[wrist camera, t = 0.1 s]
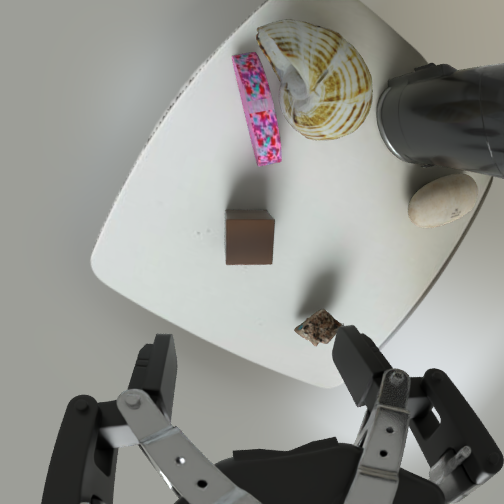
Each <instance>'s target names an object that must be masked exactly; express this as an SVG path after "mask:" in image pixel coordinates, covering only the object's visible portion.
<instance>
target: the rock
mask: <svg viewBox="0 0 504 504" xmlns="http://www.w3.org/2000/svg"><path fill="white" fill-rule="evenodd" d="M343 324H344V323H343ZM342 326H344V325H341V323H339V322H338V321H337V320H335V319H334V318H333V317H332V315H331V314H329V313H328V312H327V311H326V310H325V309H322V310H319V311H318V312H316V313H315V314H313V315H312V316H311V317H309V318H307V319H306V321H304V322H303V323H302V324H301V325H299V326H297V327H296V328H295V330H294V331H295V332H296V333H298V334H299V335H300V336H301V337H303V338H305V339H306V340H309V341H310V342H312V344H313V345H314V346H317V345H318V343H320V342H321V343H324V344H327V343H328V342H330V340H331V339H332V338H333V337H334V336H335V335H336V333H337V330H338V328H339V327H342Z"/></svg>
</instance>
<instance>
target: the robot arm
mask: <svg viewBox="0 0 504 504" xmlns="http://www.w3.org/2000/svg"><path fill="white" fill-rule="evenodd" d="M377 122H378V127H379V131H380V134H381V136H382V139H383V141H384V143H385V144H386V146H387V147H388V149H389V150H390V151H391V152H392V153H393V154H394V155H395V156H396V157H397V158H399V159H401V160H402V161H405V162H408V163H415V164H428V165H425V166H421V167H425V168H428V167H431V166H434V165H435V166H442V167H448V168H454V169H460V170H465V171H470V172H475V173H480V174H485V175H489V176H494V177H498V178H502V179H504V63H503V64H495V65H488V66H481V67H474V68H468V69H463V70H457V69H455V68H453V67H451V66H450V65H448V64H440V65H437V66H436V65H435V64H434V63H429V64H428V65H424V66H421V67H418V68H415V72H412V73H409V74H405V75H402V76H399V77H396V78H393V79H390V80H388V88H387V89H386V90H385V91H384V92H383V94H382V95H381V97H380V99H379V102H378V106H377ZM332 357H333V361H334V363H335V365H336V367H337V369H338V371H339V373H340V375H341V377H342V379H343V380H344V382H345V384H346V386H347V388H348V390H349V392H350V394H351V396H352V397H353V400H354V402H355V404H356V406H357V407H361V406H364V405H366V406H367V410H366V412H365V415H364V418H363V421H362V424H361V427H360V430H359V433H358V435H357V438H356V440H355V443H354V445H352V444H347V443H338V441H337V439H336V437H332V438H328V439H323V440H318V441H313V442H310V443H308V444H305V445H303V446H301V447H298V448H295V449H293V450H290V451H276V450H265V449H252V450H237V451H233V457H231V458H228V459H225V460H222V461H220V462H218V463H216V464H212V463H211V462H210V461H209V460H208V459H207V458H206V457H205V456H204V455H203V454H202V452H200V450H199V449H198V448H197V447H196V446H195V445H194V444H193V443H192V442H191V441H190V440H189V439H188V438H187V437H186V435H185V434H184V433H183V432H182V431H181V430H180V429H179V428H178V427H176V426H175V427H173V426H172V425H171V415H172V407H173V398H174V390H175V382H176V375H177V357H176V351H175V346H174V339H173V335H172V334H156V337H155V340H154V344H146V345H145V346H144V347H143V348H142V349H141V350H140V351H139V354H138V358H137V361H136V364H135V367H134V370H133V373H132V377H131V380H130V383H129V387H128V390H126V391H124V392H122V393H121V394H120V395H119V396H118V398H117V400H114V401H109V402H100V403H97V401H96V400H95V399H94V398H93V397H91V396H89V395H79V396H76V397H74V398H73V399H72V400H71V401H70V402H69V404H68V406H67V409H66V412H65V415H64V418H63V421H62V424H61V427H60V430H59V433H58V436H57V440H56V443H55V446H54V450H53V453H52V457H51V461H50V465H49V469H48V473H47V477H46V482H45V487H44V492H43V497H42V502H41V504H113V492H114V481H115V472H116V463H117V455H118V448H119V447H125V446H132V445H139V447H140V449H141V450H142V452H143V453H144V454H145V456H146V457H147V459H148V460H149V461H150V463H151V464H152V465H153V467H154V468H155V469H156V471H157V472H158V473H159V475H160V476H161V477H162V479H163V480H164V481H165V483H166V484H167V485H168V486H169V488H171V490H172V491H173V492H174V493H175V495H176V496H177V497H178V498H179V499H178V500H177V501H176V502H175V503H174V504H450V503H456V502H459V501H460V500H462V499H463V498H465V497H466V496H468V495H469V494H470V493H472V492H473V491H475V490H476V489H477V488H478V487H480V486H481V485H483V484H484V483H485V482H486V481H488V480H489V479H490V478H491V477H493V476H494V475H495V474H496V473H497V472H498V471H500V469H501V468H502V466H503V462H504V459H503V455H502V453H501V451H500V449H499V448H498V446H497V445H496V443H495V442H494V440H493V438H492V437H491V436H490V434H489V432H488V431H487V429H486V428H485V427H484V425H483V424H482V422H481V421H480V419H479V418H478V417H477V415H476V413H475V412H474V411H473V409H472V408H471V407H470V405H469V404H468V402H467V401H466V400H465V398H464V397H463V396H462V394H461V393H460V391H459V390H458V389H457V388H456V386H455V385H454V384H453V383H452V381H451V380H450V378H449V377H448V376H447V375H446V373H445V372H443V371H442V370H439V369H435V368H433V369H429V370H427V371H426V372H425V374H424V376H423V377H409V375H408V374H407V373H406V372H404V371H403V370H400V369H393V368H392V366H391V365H390V364H389V362H388V361H387V360H386V358H385V357H384V356H383V354H382V353H381V352H380V351H379V349H378V347H377V346H376V345H375V344H374V342H373V341H372V340H371V338H369V337H368V336H366V335H365V334H360V333H359V331H358V330H357V328H356V327H355V326H354V325H350V326H342V327H339V328H338V330H337V334H336V338H335V342H334V346H333V350H332ZM433 407H435V409H436V411H437V412H438V414H439V415H440V418H441V423H439V421H438V420H437V418H436V416H435V415H434V413H433V412H432V408H433ZM408 427H410V429H411V431H412V433H413V435H414V436H415V438H416V440H417V442H418V444H419V446H420V448H421V450H422V452H423V454H424V456H425V458H426V460H427V462H428V464H429V466H430V468H431V469H430V472H429V477H430V478H429V480H427V479H425V478H422V477H420V476H418V475H415V474H413V473H411V472H409V471H407V470H404V469H402V468H400V465H401V461H402V457H403V452H404V448H405V443H406V438H407V433H408Z"/></svg>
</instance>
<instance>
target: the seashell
mask: <svg viewBox="0 0 504 504" xmlns="http://www.w3.org/2000/svg"><path fill="white" fill-rule="evenodd" d="M257 31H258V32H259V33H258V34H257V35H256V40H257V43H258V44H259V46H260V48H261V50H262V52H263V53H264V54H265V56H266V58H267V59H268V60H269V62H270V64H271V65H272V68H273V70H274V72H275V73H276V75H277V76H278V79H279V81H280V82H281V86H280V93H279V103H280V106H281V110H282V112H283V114H284V116H285V118H286V119H287V121H288V122H289V123H290V125H291V126H292V127H293V128H294V129H295V130H296V131H298V132H300V133H301V134H302V135H303V136H305V137H306V138H308V139H311V140H333V139H338V138H340V137H343V136H346V135H348V134H350V133H352V132H354V131H355V130H356V129H357V128H358V127H359V126H360V125H361V124H362V123H363V122H364V120H365V119H366V117H367V115H368V113H369V111H370V108H371V104H372V92H373V90H372V77H371V74H370V72H369V70H368V68H367V65H366V64H365V62H364V60H363V58H362V57H361V55H360V54H359V53H358V52H357V50H356V49H355V48H354V47H353V46H352V45H351V44H350V43H348V42H347V41H346V40H344V39H343V37H342V36H341V35H340V34H339V33H337V32H334V31H332V30H330V29H325V28H323V27H320V26H314V25H313V24H310V23H307V22H301V21H294V20H289V19H286V20H281V21H276V22H272V23H269V24H267V25H264V26H261V27H258V28H257Z"/></svg>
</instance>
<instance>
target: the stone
mask: <svg viewBox="0 0 504 504" xmlns="http://www.w3.org/2000/svg"><path fill="white" fill-rule="evenodd" d="M477 195H478V188H477V184H476V182H475V181H474V179H473V178H472V177H470V176H469V175H466V174H452V175H447V176H444V177H441V178H438V179H436V180H434V181H432V182H430V183H428V184H427V185H425V186H424V187H422V188H421V189H419V190H418V191H417V192H416V193H415V195H414V196H413V197H412V199H411V201H410V203H409V206H408V215H409V218H410V220H411V221H412V222H413V223H414V224H415V225H417V226H419V227H423V228H433V227H437V226H441V225H445V224H447V223H450V222H453V221H455V220H457V219H459V218H461V217H462V216H464V215H465V214H467V213H468V212H469V211H470V210H471V209H472V208H473V207H474V205H475V202H476V199H477Z"/></svg>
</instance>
